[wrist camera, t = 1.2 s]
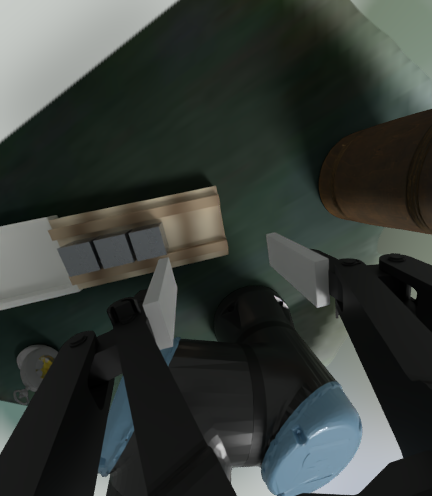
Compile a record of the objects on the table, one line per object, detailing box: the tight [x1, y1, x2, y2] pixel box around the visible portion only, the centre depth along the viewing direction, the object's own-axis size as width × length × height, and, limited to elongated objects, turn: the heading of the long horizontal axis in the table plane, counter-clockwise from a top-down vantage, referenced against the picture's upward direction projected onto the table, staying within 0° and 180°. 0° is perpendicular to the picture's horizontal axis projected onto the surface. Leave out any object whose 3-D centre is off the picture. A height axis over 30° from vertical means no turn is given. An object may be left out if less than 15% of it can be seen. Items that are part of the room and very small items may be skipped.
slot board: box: [48, 186, 228, 290], centre depth 32 cm, size 24×11×4 cm, turn 101°
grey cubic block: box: [57, 235, 103, 277], centre depth 29 cm, size 4×4×4 cm
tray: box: [0, 215, 82, 310], centre depth 31 cm, size 16×12×2 cm
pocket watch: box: [13, 345, 58, 405], centre depth 33 cm, size 8×8×10 cm
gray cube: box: [128, 222, 169, 261], centre depth 29 cm, size 4×4×4 cm
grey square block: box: [93, 229, 137, 269], centre depth 29 cm, size 4×4×4 cm
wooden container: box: [319, 109, 432, 234], centre depth 26 cm, size 15×15×22 cm
